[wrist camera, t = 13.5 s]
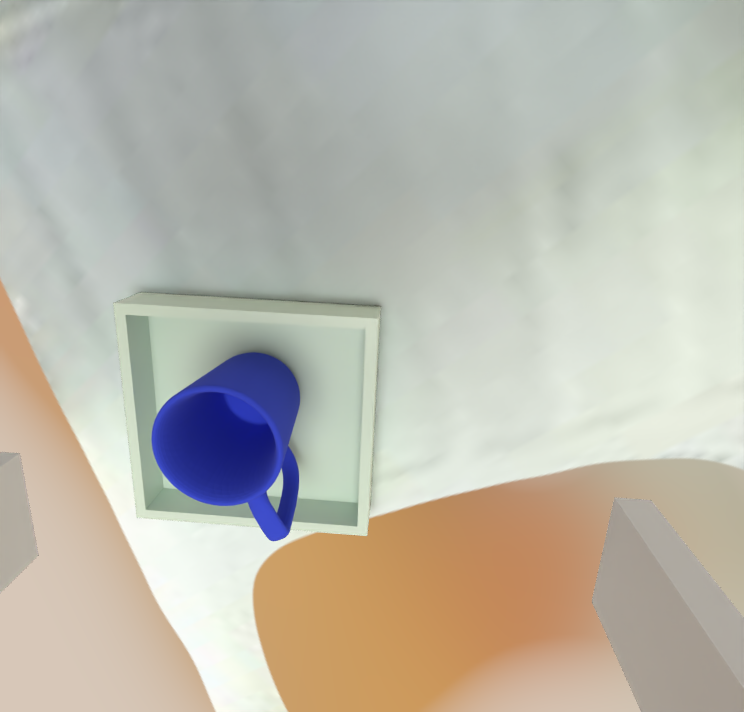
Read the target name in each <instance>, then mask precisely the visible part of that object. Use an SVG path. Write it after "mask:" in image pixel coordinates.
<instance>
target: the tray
mask: <svg viewBox="0 0 744 712" xmlns="http://www.w3.org/2000/svg"><path fill="white" fill-rule="evenodd" d="M113 307H114V316H115V325H116V334H117V343H118V352H119V361H120V370H121V379H122V388H123V397H124V407H125V416H126V425H127V434H128V443H129V452H130V461H131V470H132V479H133V488H134V497H135V507H136V516H137V518H147V519H159V520H172V521H184V522H197V523H210V524H222V525H235V526H247V527H260V526H259V524H258V523H257V521H256V520H255V518H254V516H253V514H252V512H251V510H250V507H249V504H248V502H247V503H244V504H239V505H234V506H217V505H210V504H206V503H203V502H200V501H197V500H195V499H193V498H191V497H189V496H187V495H185V494H184V493H182V492H181V491H179V490H178V489H177V488H176V487H174V486H173V485H172V484H171V483H170V482H169V481H168V479H167V478H166V477H165V476H164V474H163V473H162V471H161V470H160V468H159V466H158V464H157V462H156V460H155V457H154V454H153V449H152V440H151V437H152V428H153V424H154V421H155V418H156V416H157V414H158V412H159V411H160V409H161V408H162V406H163V405H164V404H165V403H166V402H167V401H168V400H169V399H170V398H171V397H172V396H174V395H175V394H177V393H178V392H180V391H181V390H183V389H184V388H186V387H187V386H189V385H190V384H192V383H193V382H195V381H196V380H198V379H199V378H201V377H202V376H204V375H205V374H207V373H208V372H210V371H211V370H213V369H214V368H216V367H217V366H219V365H220V364H222V363H223V362H225V361H226V360H228V359H230V358H231V357H234V356H236V355H239V354H243V353H251V352H256V353H263V354H267V355H270V356H273V357H275V358H276V359H278V360H280V361H281V362H283V363H284V364H285V365H286V366H287V367H288V368H289V369H290V370H291V372H292V373H293V375H294V376H295V378H296V381H297V383H298V386H299V391H300V406H299V410H298V414H297V417H296V421H295V424H294V427H293V431H292V434H291V438H290V441H289V444H288V446H289V448H290V449H291V451H292V452H293V454H294V456H295V459H296V462H297V465H298V469H299V491H298V497H297V504H296V508H295V512H294V517H293V521H292V525H291V529H290V530H298V531H310V532H324V533H336V534H348V535H361V536H367V532H368V523H369V515H370V505H371V486H372V467H373V447H374V428H375V409H376V390H377V370H378V351H379V332H380V313H381V306H367V305H350V304H333V303H316V302H299V301H282V300H265V299H248V298H231V297H213V296H196V295H179V294H162V293H145V292H140V293H138V294H135V295H132V296H130V297H127V298H125V299H122V300H119V301H117V302H114V303H113ZM282 489H283V473H282V468H281V471H280V473H279V475H278V477H277V479H276V481H275V482H274V483H273V485H272V486H271V487H270V488H269V489H268V490H267V496H268V498H269V501H270V503H271V504H272V506H273V508H274V509H275V511H276V513H277V511H278V508H279V504H280V500H281V495H282Z"/></svg>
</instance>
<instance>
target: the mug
mask: <svg viewBox="0 0 744 712" xmlns="http://www.w3.org/2000/svg"><path fill="white" fill-rule="evenodd" d="M299 406H300V391H299V386H298V383H297V381H296V378H295V376H294V375H293V373H292V372H291V370H290V369H289V368H288V367H287V366H286V365H285V364H284V363H283V362H281V361H280V360H278V359H276V358H275V357H273V356H270V355H267V354H263V353H256V352H251V353H243V354H239V355H236V356H234V357H231V358H230V359H228V360H226V361H225V362H223V363H222V364H220V365H219V366H217V367H216V368H214V369H213V370H211V371H210V372H208V373H207V374H205V375H204V376H202V377H201V378H199V379H198V380H196V381H195V382H193V383H192V384H190V385H189V386H187V387H186V388H184V389H183V390H181V391H180V392H178V393H177V394H175V395H174V396H172V397H171V398H170V399H169V400H168V401H167V402H166V403H165V404H164V405H163V406H162V408H161V409H160V411H159V412H158V414H157V416H156V418H155V421H154V424H153V428H152V437H151V440H152V449H153V454H154V457H155V460H156V462H157V464H158V466H159V468H160V470H161V471H162V473H163V474H164V476H165V477H166V478H167V479H168V481H169V482H170V483H171V484H172V485H173V486H174V487H176V488H177V489H178V490H179V491H181V492H182V493H184V494H185V495H187V496H189V497H191V498H193V499H195V500H197V501H200V502H203V503H206V504H210V505H217V506H234V505H239V504H244V503H247V502H248V504H249V507H250V510H251V512H252V514H253V516H254V518H255V520H256V521H257V523H258V524H259V526H260V528H261V529H262V531H263V532H264V534H265V535H266V536H267V538H268V539H269V540H271V541H277V540H280V539H283V538H285V537H286V536H287V535H288V534H289V532H290V529H291V525H292V521H293V517H294V512H295V508H296V504H297V497H298V491H299V469H298V465H297V462H296V459H295V456H294V454H293V452H292V451H291V449H290V448H289V446H288V444H289V441H290V438H291V434H292V431H293V427H294V424H295V421H296V417H297V414H298V410H299ZM281 468H282V473H283V489H282V495H281V500H280V504H279V508H278V511H277V513H276V511H275V509H274V508H273V506H272V504H271V503H270V501H269V498H268V496H267V490H268V489H269V488H270V487H271V486H272V485H273V483H274V482H275V481H276V479H277V477H278V475H279V473H280V471H281Z"/></svg>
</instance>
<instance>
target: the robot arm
mask: <svg viewBox="0 0 744 712" xmlns="http://www.w3.org/2000/svg"><path fill="white" fill-rule="evenodd" d="M37 556H38V549H37V544H36V538H35V533H34V527H33V522H32V516H31V511H30V505H29V500H28V494H27V489H26V484H25V478H24V473H23V467H22V462H21V456H20V453H8V452H0V593H1V592H2V591H3V590H4V589H5V588H6V587H7V586H8V585H9V584H10V583H11V582H12V581H13V580H14V579H15V578H16V577H17V576H18V575H19V574H20V573H21V572H22V571H23V570H24V569H25V568H26V567H27V566H28V565H29V564H30V563H31V562H32V561H33V560H34V559H35V558H36V557H37ZM592 603H593V605H594V608H595V610H596V612H597V614H598V617H599V619H600V621H601V623H602V626H603V628H604V630H605V632H606V635H607V637H608V639H609V641H610V643H611V646H612V648H613V650H614V652H615V655H616V657H617V659H618V661H619V663H620V666H621V668H622V670H623V672H624V674H625V677H626V679H627V681H628V683H629V686H630V688H631V690H632V692H633V695H634V697H635V699H636V701H637V704H638V706H639V708H640V710H641V712H744V617H743V616H742V615H741V614H740V612H739V611H738V610H737V608H736V607H735V606H734V605H733V603H732V602H731V601H730V600H729V598H728V597H727V596H726V595H725V593H724V592H723V591H722V590H721V588H720V587H719V586H718V584H717V583H716V582H715V581H714V579H713V578H712V577H711V575H710V574H709V573H708V572H707V570H706V569H705V568H704V567H703V565H702V564H701V563H700V562H699V560H698V559H697V558H696V556H695V555H694V554H693V553H692V551H691V550H690V549H689V548H688V546H687V545H686V544H685V542H684V541H683V540H682V539H681V537H680V536H679V535H678V534H677V532H676V531H675V530H674V529H673V527H672V526H671V525H670V524H669V522H668V521H667V520H666V518H664V516H663V515H662V513H661V512H660V511H659V510H658V508H657V507H656V506H655V504H654V503H653V502H652V501H651V500H641V499H627V498H614V502H613V507H612V511H611V516H610V520H609V525H608V530H607V534H606V539H605V543H604V548H603V552H602V557H601V562H600V566H599V571H598V575H597V580H596V584H595V589H594V594H593V599H592Z"/></svg>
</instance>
